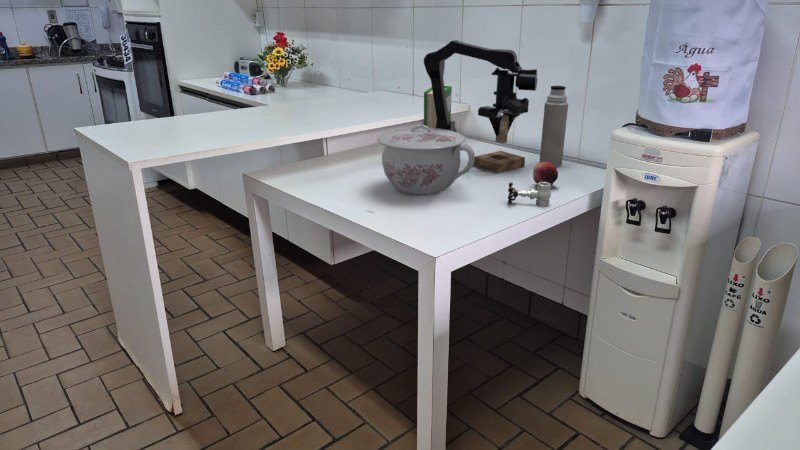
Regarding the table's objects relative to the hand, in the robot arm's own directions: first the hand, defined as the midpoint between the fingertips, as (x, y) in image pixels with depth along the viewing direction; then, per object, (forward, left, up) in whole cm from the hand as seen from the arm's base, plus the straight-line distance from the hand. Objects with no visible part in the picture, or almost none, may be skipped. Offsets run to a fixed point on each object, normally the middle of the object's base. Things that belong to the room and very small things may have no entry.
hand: (501, 134), depth 192 cm
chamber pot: (-37, -2, -12) cm, 39 cm away
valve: (-20, -32, -13) cm, 40 cm away
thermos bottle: (+18, -8, -12) cm, 23 cm away
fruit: (-4, -24, -12) cm, 27 cm away
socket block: (+1, +2, -12) cm, 12 cm away
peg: (0, 0, -3) cm, 3 cm away
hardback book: (-1, +34, -13) cm, 37 cm away
